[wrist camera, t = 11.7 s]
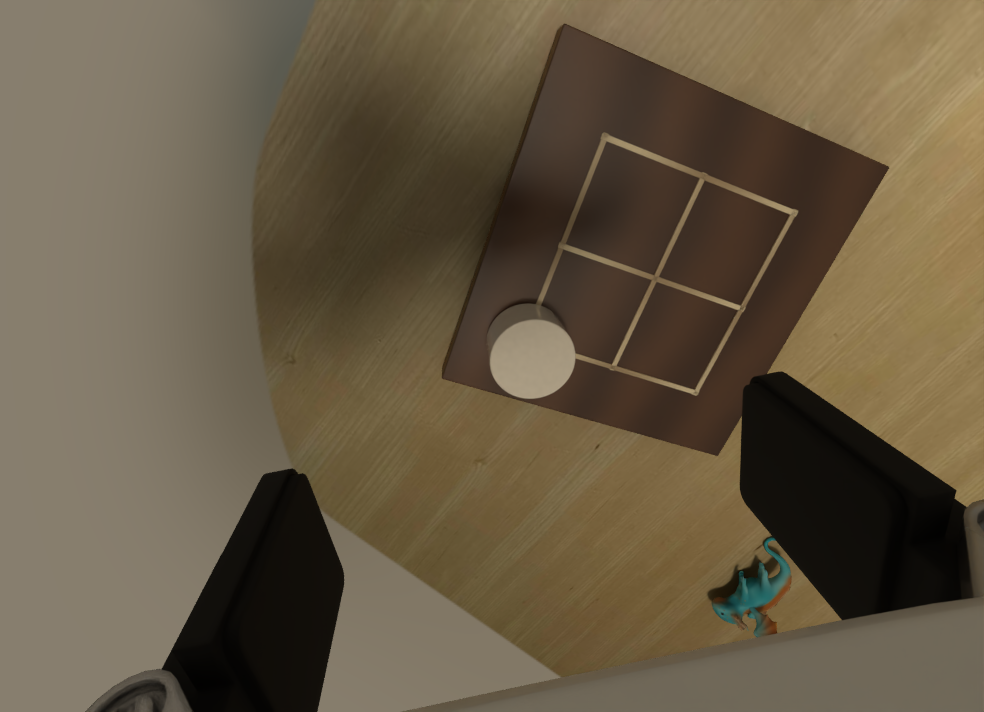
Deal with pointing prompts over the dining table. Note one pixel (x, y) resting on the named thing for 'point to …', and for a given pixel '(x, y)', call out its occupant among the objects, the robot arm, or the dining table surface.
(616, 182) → the board
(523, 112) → the dining table surface
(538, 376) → the beige round puck
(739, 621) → the dragon figurine
